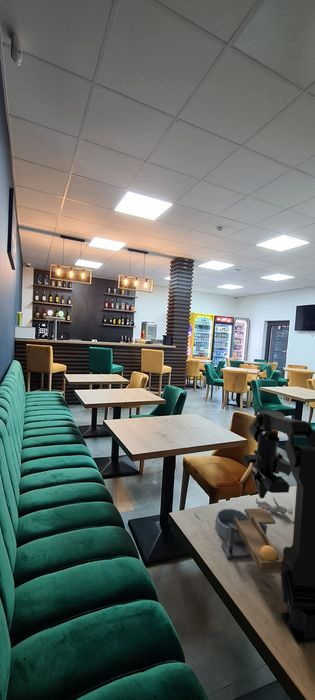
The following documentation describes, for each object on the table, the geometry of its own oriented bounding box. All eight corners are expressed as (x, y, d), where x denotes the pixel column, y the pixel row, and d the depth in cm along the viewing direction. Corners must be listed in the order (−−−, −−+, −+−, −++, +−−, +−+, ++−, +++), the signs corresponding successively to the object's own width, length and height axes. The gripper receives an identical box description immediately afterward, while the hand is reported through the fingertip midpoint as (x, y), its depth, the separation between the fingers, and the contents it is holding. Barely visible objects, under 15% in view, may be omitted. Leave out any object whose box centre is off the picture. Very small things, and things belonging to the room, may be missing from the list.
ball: (277, 567, 78) (281, 557, 76) (262, 568, 77) (266, 557, 76) (269, 551, 81) (273, 541, 80) (255, 552, 81) (259, 542, 79)
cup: (256, 541, 95) (258, 529, 95) (223, 543, 93) (224, 531, 93) (241, 519, 106) (242, 508, 105) (210, 520, 104) (211, 509, 104)
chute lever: (308, 570, 78) (310, 559, 78) (256, 574, 76) (258, 563, 75) (265, 510, 100) (266, 501, 99) (224, 512, 97) (225, 502, 97)
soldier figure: (260, 503, 118) (293, 503, 112) (260, 517, 114) (295, 518, 109) (254, 495, 113) (288, 495, 108) (254, 510, 110) (290, 510, 105)
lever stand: (269, 556, 89) (272, 529, 88) (227, 559, 87) (230, 531, 86) (261, 544, 94) (264, 518, 93) (221, 546, 92) (223, 520, 91)
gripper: (309, 464, 88) (303, 515, 89) (274, 438, 106) (270, 481, 108) (273, 465, 86) (267, 517, 88) (244, 438, 104) (240, 482, 106)
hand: (261, 497), depth 97 cm, fingers closed
